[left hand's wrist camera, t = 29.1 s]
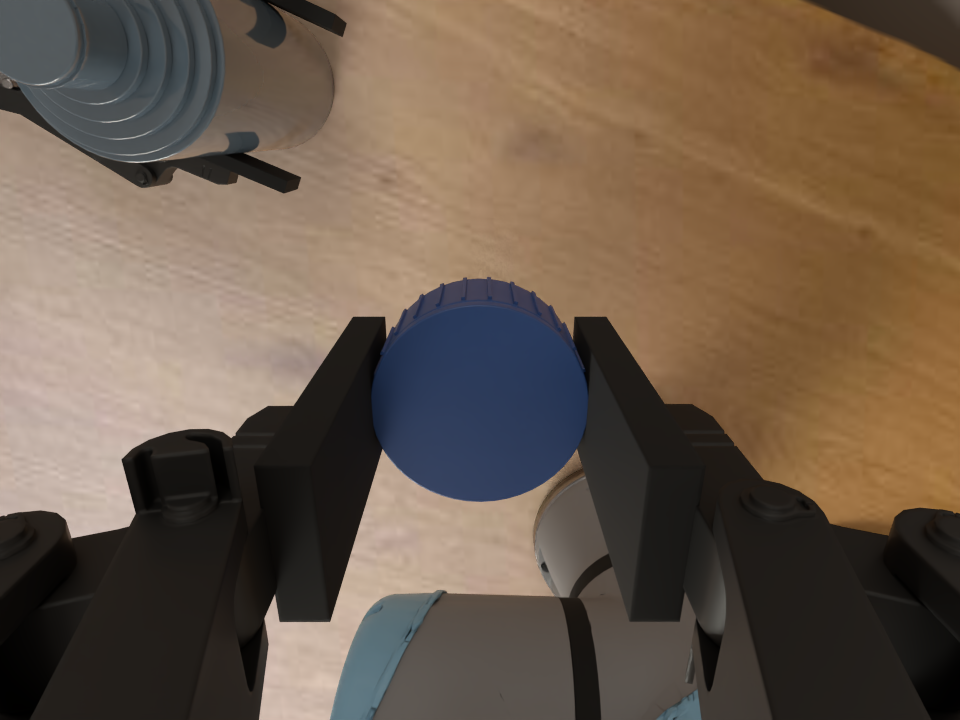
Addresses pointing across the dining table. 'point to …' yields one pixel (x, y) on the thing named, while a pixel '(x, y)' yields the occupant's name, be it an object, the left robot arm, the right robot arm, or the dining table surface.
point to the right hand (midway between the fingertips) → (314, 109)
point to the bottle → (167, 75)
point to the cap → (479, 391)
